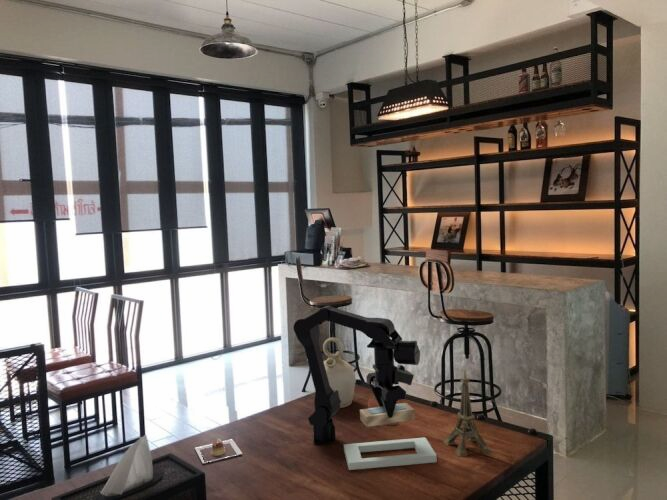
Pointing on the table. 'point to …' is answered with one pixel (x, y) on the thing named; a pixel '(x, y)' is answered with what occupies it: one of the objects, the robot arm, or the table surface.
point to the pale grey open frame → (420, 444)
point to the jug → (339, 373)
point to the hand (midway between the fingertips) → (386, 413)
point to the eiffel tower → (466, 424)
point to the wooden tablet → (373, 403)
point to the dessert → (218, 449)
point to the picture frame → (380, 416)
